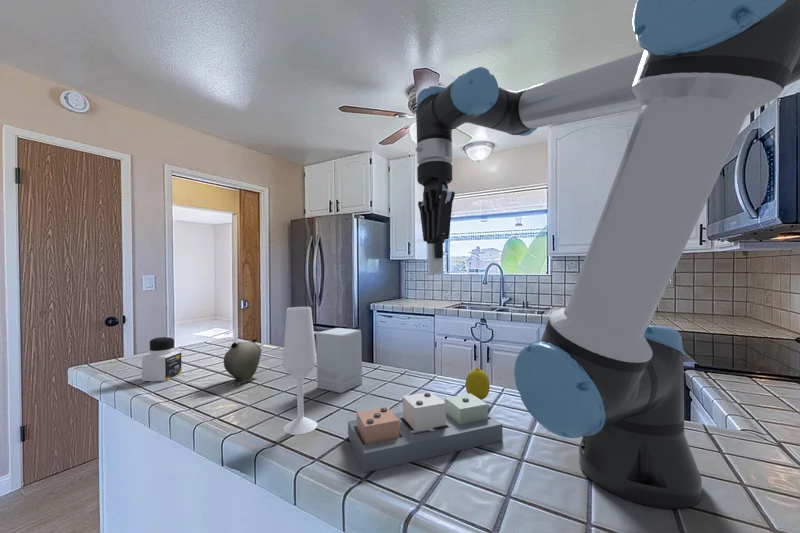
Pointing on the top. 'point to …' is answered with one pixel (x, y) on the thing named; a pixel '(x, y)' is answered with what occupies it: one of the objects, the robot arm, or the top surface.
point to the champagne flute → (299, 361)
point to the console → (423, 442)
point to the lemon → (477, 383)
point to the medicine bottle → (161, 360)
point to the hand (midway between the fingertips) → (436, 273)
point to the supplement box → (339, 359)
